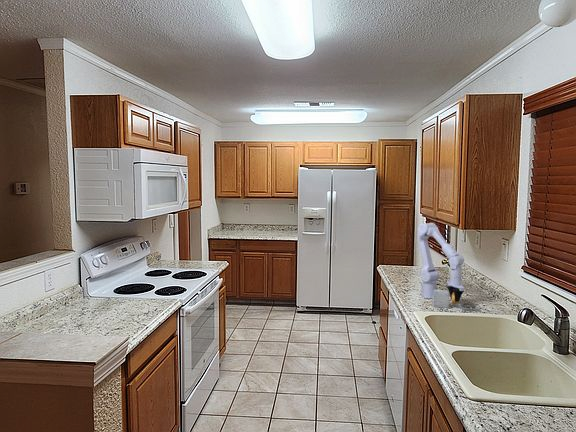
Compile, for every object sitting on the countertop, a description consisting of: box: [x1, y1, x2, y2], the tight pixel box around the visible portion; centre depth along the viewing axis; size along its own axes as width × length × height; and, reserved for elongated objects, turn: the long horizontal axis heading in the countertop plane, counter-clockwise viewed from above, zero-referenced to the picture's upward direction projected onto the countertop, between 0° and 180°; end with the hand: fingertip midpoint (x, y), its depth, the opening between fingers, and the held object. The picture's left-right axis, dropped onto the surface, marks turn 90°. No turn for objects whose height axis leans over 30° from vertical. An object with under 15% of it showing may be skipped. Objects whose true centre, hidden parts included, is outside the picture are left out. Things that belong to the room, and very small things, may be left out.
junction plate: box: [455, 302, 482, 312], centre depth 211 cm, size 10×9×2 cm
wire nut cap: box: [451, 292, 459, 305], centre depth 219 cm, size 3×3×6 cm
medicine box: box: [432, 289, 450, 309], centre depth 213 cm, size 8×4×9 cm, turn 74°
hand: (454, 300), depth 219 cm, fingers open, 4 cm apart
